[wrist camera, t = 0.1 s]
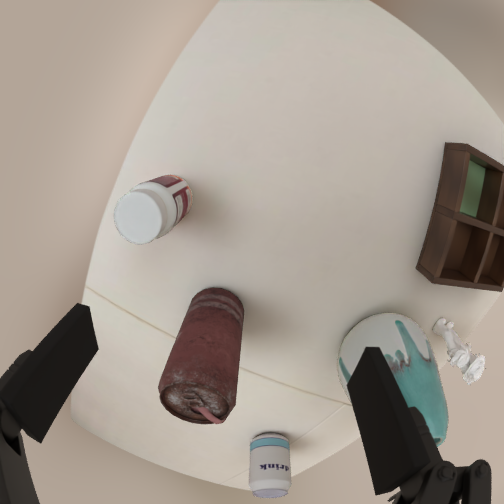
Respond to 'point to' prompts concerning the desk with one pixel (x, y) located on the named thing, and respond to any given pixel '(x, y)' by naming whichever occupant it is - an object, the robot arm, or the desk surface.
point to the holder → (466, 222)
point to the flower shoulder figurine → (460, 352)
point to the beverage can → (269, 466)
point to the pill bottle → (152, 208)
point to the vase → (400, 364)
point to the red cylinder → (205, 359)
